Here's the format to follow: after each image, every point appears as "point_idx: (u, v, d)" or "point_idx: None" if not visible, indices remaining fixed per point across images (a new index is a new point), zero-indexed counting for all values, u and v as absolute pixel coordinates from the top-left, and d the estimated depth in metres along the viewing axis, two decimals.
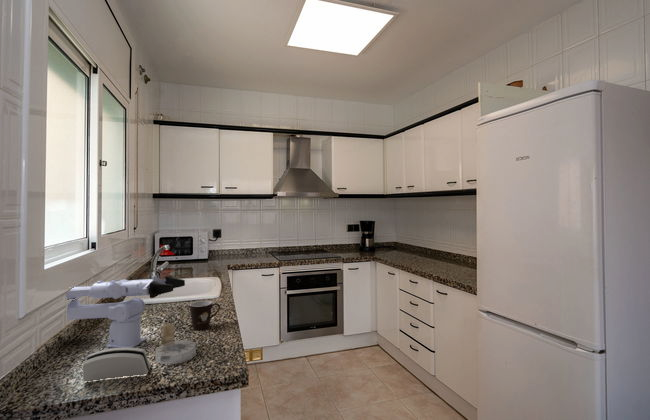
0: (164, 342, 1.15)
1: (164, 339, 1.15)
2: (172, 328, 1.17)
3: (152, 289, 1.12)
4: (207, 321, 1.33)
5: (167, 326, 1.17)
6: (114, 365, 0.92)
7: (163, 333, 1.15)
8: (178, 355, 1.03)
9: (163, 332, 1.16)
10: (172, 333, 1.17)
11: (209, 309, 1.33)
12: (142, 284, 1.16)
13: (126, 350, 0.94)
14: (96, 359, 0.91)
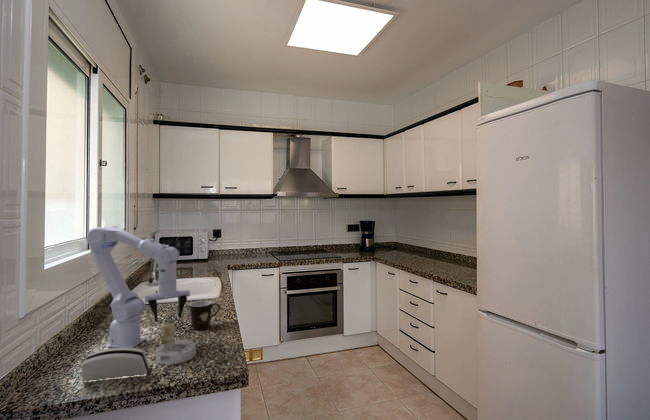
0: (164, 342, 1.15)
1: (164, 339, 1.15)
2: (172, 328, 1.17)
3: None
4: (207, 321, 1.33)
5: (167, 326, 1.17)
6: (113, 365, 0.92)
7: (163, 333, 1.15)
8: (178, 355, 1.03)
9: (163, 332, 1.16)
10: (172, 333, 1.17)
11: (209, 309, 1.33)
12: (160, 287, 1.15)
13: (125, 350, 0.94)
14: (95, 359, 0.91)
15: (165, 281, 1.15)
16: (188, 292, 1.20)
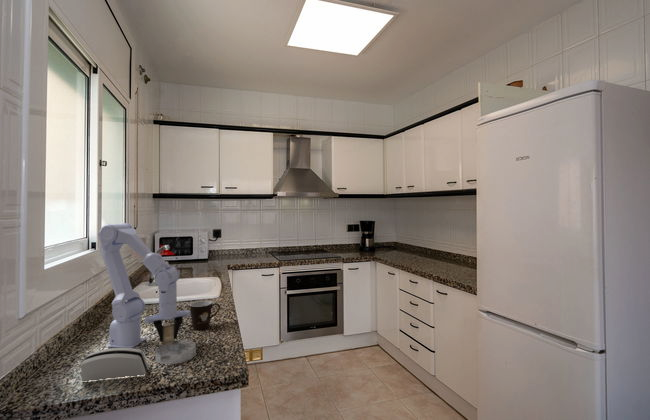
0: (164, 342, 1.15)
1: (164, 339, 1.15)
2: (172, 328, 1.17)
3: None
4: (207, 321, 1.33)
5: (167, 326, 1.17)
6: (112, 365, 0.92)
7: (163, 333, 1.15)
8: (178, 355, 1.03)
9: (163, 332, 1.16)
10: (172, 333, 1.17)
11: (209, 309, 1.33)
12: (161, 308, 1.15)
13: (124, 350, 0.94)
14: (94, 359, 0.91)
15: (165, 302, 1.15)
16: (188, 312, 1.20)
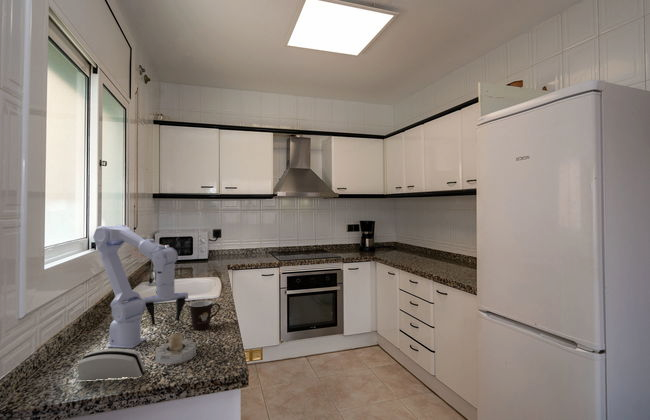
0: None
1: (172, 350, 1.06)
2: (180, 338, 1.07)
3: None
4: (207, 321, 1.33)
5: (174, 336, 1.07)
6: (107, 366, 0.92)
7: (171, 344, 1.06)
8: (178, 355, 1.03)
9: (171, 343, 1.06)
10: (180, 344, 1.07)
11: (209, 309, 1.33)
12: (158, 289, 1.12)
13: (119, 351, 0.93)
14: (89, 359, 0.91)
15: (161, 283, 1.11)
16: (186, 294, 1.17)
